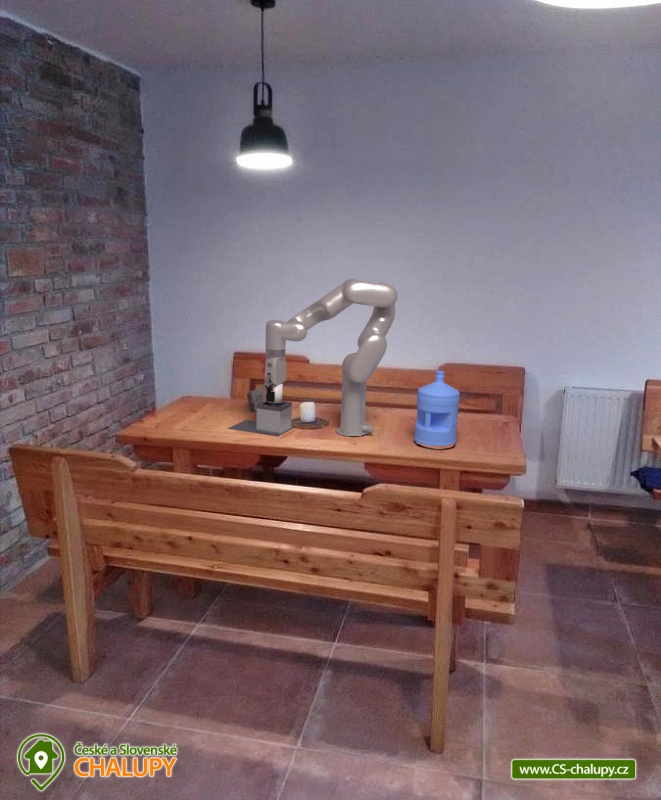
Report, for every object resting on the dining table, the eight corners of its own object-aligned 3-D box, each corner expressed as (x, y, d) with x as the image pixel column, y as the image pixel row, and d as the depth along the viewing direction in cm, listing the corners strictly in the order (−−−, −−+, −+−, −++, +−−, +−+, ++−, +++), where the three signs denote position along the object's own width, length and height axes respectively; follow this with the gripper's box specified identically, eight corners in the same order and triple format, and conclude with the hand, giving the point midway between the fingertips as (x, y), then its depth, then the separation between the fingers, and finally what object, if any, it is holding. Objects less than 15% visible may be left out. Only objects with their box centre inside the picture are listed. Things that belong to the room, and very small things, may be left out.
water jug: (427, 435, 257) (432, 366, 251) (463, 444, 248) (469, 372, 241) (405, 443, 246) (410, 371, 239) (442, 453, 236) (448, 377, 229)
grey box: (296, 429, 259) (297, 400, 256) (278, 440, 244) (278, 409, 241) (247, 422, 266) (248, 393, 264) (227, 432, 252) (227, 402, 249)
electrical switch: (256, 412, 283) (255, 391, 281) (246, 411, 285) (245, 390, 284) (268, 408, 291) (267, 387, 289) (258, 407, 293) (257, 387, 292)
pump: (285, 400, 251) (285, 379, 249) (278, 404, 246) (278, 382, 244) (267, 398, 254) (267, 377, 252) (260, 401, 248) (260, 379, 246)
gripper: (274, 357, 236) (273, 405, 240) (294, 351, 252) (293, 396, 256) (255, 355, 239) (255, 403, 243) (276, 349, 254) (275, 394, 258)
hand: (274, 399), depth 249 cm, fingers closed on pump, 5 cm apart
